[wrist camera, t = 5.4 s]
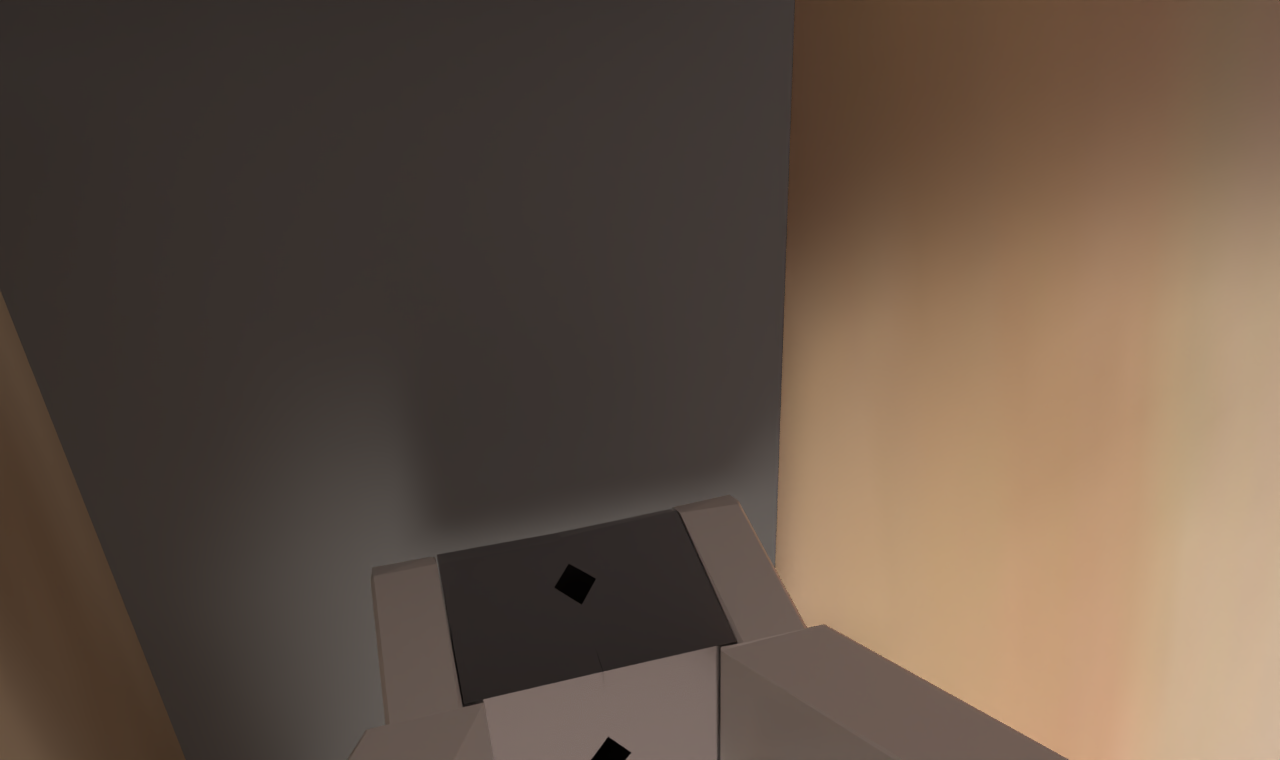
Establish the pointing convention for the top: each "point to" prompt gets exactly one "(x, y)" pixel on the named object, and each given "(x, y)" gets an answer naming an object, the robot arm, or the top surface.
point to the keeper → (61, 603)
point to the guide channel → (384, 303)
